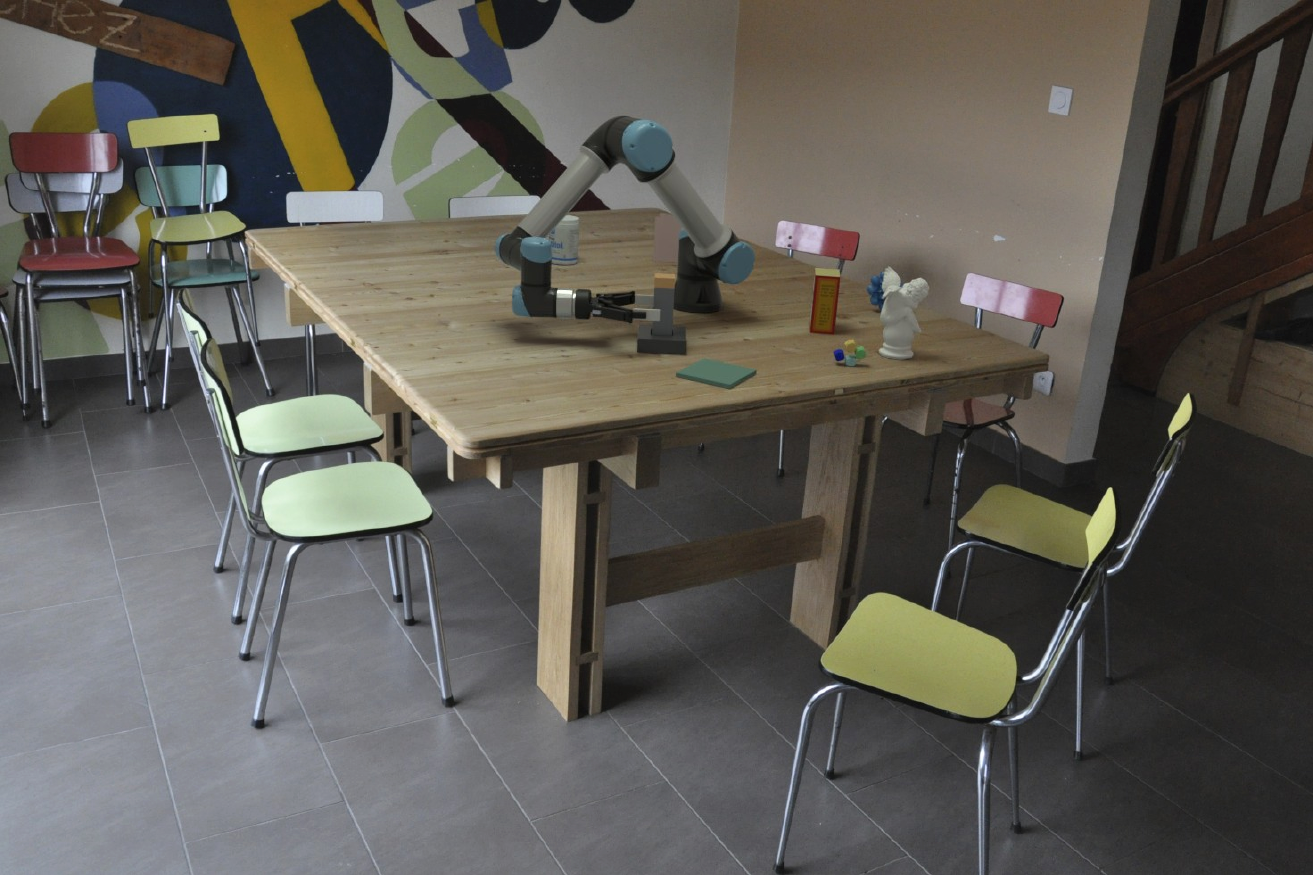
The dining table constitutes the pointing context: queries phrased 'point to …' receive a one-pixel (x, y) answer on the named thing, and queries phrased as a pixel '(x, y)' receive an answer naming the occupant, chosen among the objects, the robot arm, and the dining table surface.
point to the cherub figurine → (900, 314)
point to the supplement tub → (565, 241)
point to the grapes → (877, 290)
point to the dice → (850, 347)
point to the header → (661, 341)
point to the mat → (716, 373)
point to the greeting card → (666, 238)
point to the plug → (664, 303)
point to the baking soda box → (824, 300)
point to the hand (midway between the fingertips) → (660, 308)
